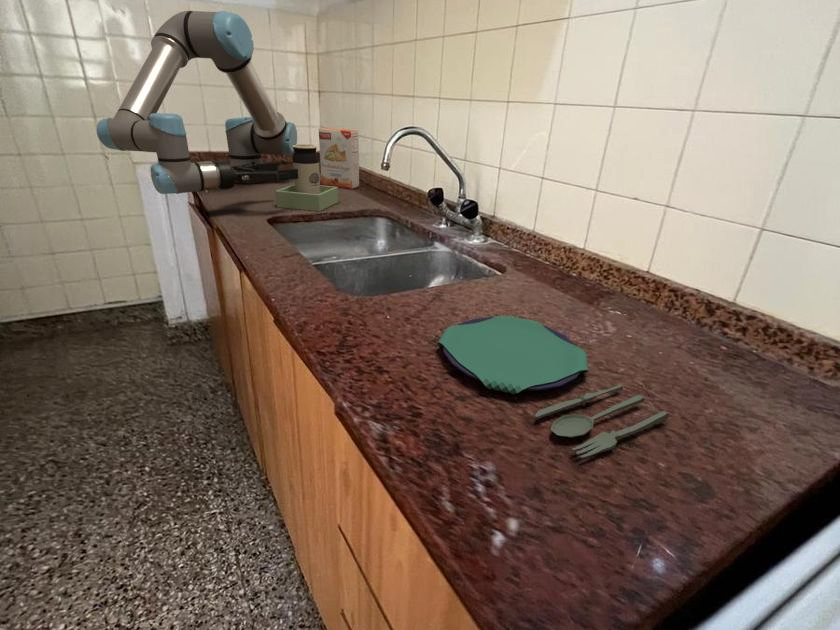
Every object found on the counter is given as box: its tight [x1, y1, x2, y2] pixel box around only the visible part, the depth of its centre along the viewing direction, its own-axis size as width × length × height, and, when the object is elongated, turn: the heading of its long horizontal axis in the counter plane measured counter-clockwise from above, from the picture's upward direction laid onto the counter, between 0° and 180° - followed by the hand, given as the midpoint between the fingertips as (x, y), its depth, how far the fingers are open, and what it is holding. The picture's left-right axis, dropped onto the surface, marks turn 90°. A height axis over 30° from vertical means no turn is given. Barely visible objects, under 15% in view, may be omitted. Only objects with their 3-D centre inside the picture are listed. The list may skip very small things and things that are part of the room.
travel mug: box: [292, 144, 321, 194], centre depth 142 cm, size 8×8×18 cm
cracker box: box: [318, 127, 360, 190], centre depth 171 cm, size 14×6×21 cm, turn 67°
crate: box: [274, 183, 340, 212], centre depth 145 cm, size 15×15×5 cm
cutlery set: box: [437, 315, 670, 460], centre depth 60 cm, size 20×30×2 cm, turn 28°
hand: (287, 170), depth 137 cm, fingers open, 13 cm apart
